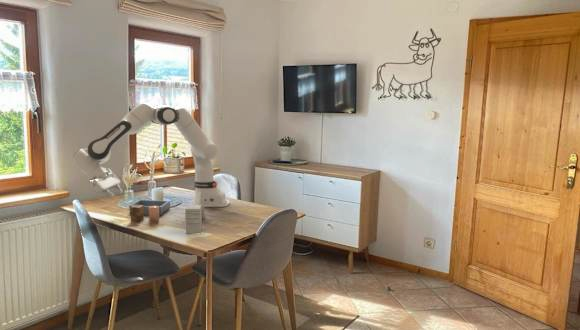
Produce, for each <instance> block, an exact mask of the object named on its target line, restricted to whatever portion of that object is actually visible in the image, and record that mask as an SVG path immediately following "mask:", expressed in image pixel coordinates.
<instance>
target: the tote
mask: <svg viewBox="0 0 580 330" xmlns="http://www.w3.org/2000/svg"><path fill="white" fill-rule="evenodd" d="M133 205H144V216H149V206H159V217H162V216H163V215H165V214H166V213H167V212H168V211H170V209H171V201H170V200H157V199H156V200H154V199H153V200H152V199H138V200H136V201H135V202H133V203H132V204H130V205H129V215H131V212H130V207H132V206H133Z"/></svg>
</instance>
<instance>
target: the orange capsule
mask: <svg viewBox="0 0 580 330" xmlns="http://www.w3.org/2000/svg"><path fill="white" fill-rule="evenodd" d="M159 222H160V216H159V206H149V215H148V223H150V224H157V223H159Z"/></svg>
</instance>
